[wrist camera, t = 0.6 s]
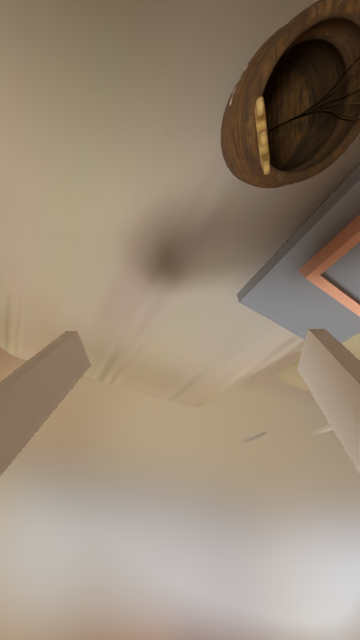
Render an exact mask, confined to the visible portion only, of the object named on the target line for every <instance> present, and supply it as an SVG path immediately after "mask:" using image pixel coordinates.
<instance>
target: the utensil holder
mask: <svg viewBox="0 0 360 640" xmlns="http://www.w3.org/2000/svg"><path fill="white" fill-rule="evenodd" d="M359 132H360V0H319V1H318V2H316V3H314V4H312V5H311V6H309V7H308V8H306V9H305V10H303V11H302V12H301V13H299V14H298V15H297V16H296V17H294V18H293V19H292V20H291V21H290V22H289V23H288V24H286V25H285V26H283V27H282V28H280V29H279V30H278V31H277V32H275V33H274V34H273V35H272V36H271V37H270V38H269V39H268V40H267V41H266V42H265V43H264V44H263V45H262V46H261V47H260V49H259V50H258V51H257V52H256V54H255V55H254V56H253V58H252V59H251V60H250V62H249V64H248V65H247V67H246V68H245V70H244V71H243V73H242V75H241V77H240V79H239V80H238V82H237V84H236V86H235V88H234V90H233V92H232V94H231V96H230V98H229V101H228V103H227V106H226V109H225V113H224V116H223V121H222V128H221V147H222V153H223V157H224V160H225V162H226V164H227V166H228V168H229V170H230V171H231V172H232V173H233V175H234V176H236V177H237V178H238V179H240V180H241V181H243V182H245V183H248V184H250V185H253V186H256V187H261V188H276V187H281V186H284V185H288V184H293V183H297V182H300V181H303V180H306V179H308V178H311V177H313V176H315V175H316V174H318V173H320V172H321V171H323V170H324V169H326V168H327V167H328V166H330V165H331V164H332V163H333V162H334V161H335V160H337V159H338V158H339V157H340V156H341V155H342V154H343V152H344V151H345V150H346V149H347V148H348V147H349V146H350V144H351V143H352V142H353V141H354V139H355V138H356V136H357V135H358V134H359Z"/></svg>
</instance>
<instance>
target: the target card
mask: <svg viewBox="0 0 360 640" xmlns="http://www.w3.org/2000/svg"><path fill="white" fill-rule="evenodd" d="M237 297H238V300H239V302H240V303H242V304H244V305H245V306H247V307H249V308H251V309H252V310H254V311H256V312H258V313H259V314H261V315H263V316H265V317H266V318H268V319H270V320H272V321H273V322H275V323H277V324H279V325H280V326H282V327H284V328H286V329H287V330H289V331H291V332H293V333H294V334H296V335H298V336H300V337H301V338H303V339H306V335H307V331H308V329H326V330H327V331H328V332H329V333H330V334H331V335H332V336H333V337H334V338H335V339H337V340H338V341H339V342H340V343H342V342H344V341H346V340H348V339H349V338H351V337H353V336H355V335H356V334H358V333H360V164H359V165H358V166H357V167H356V169H355V170H354V171H353V172H352V173H351V174H350V175H349V176H348V177H347V178H346V179H345V180H344V181H343V182H342V183H341V184H340V186H339V187H338V188H337V189H336V190H335V191H334V192H333V193H332V194H331V195H330V196H329V197H328V198H327V199H326V200H325V201H324V203H323V204H322V205H321V206H320V207H319V208H318V209H317V210H316V211H315V212H314V213H313V214H312V215H311V216H310V217H309V219H308V220H307V221H306V222H305V223H304V224H303V225H302V226H301V227H300V228H299V229H298V230H297V231H296V232H295V233H294V234H293V236H292V237H291V238H290V239H289V240H288V241H287V242H286V243H285V244H284V245H283V246H282V247H281V248H280V249H279V250H278V251H277V253H276V254H275V255H274V256H273V257H272V258H271V259H270V260H269V261H268V262H267V263H266V264H265V265H264V266H263V267H262V268H261V270H260V271H259V272H258V273H257V274H256V275H255V276H254V277H253V278H252V279H251V280H250V281H249V282H248V283H247V284H246V286H245V287H244V288H243V289H242V290H241V291H240V292H239V293H238V294H237Z"/></svg>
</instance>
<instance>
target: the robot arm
mask: <svg viewBox="0 0 360 640" xmlns="http://www.w3.org/2000/svg"><path fill="white" fill-rule="evenodd" d="M90 366H91V364H90V362H89V359H88V357H87V354H86V352H85V349H84V347H83V344H82V342H81V339H80V337H79V334H78V332H77V331H66V332H65V333H63V334H62V335H61V336H59V337H58V338H57V339H55V340H54V341H53V342H52V343H50V344H49V345H48V346H46V347H45V348H44V349H43V350H41V351H40V352H39V353H37V354H36V355H35V356H34V357H32V358H31V359H30V360H28V361H27V362H26V363H24V364H23V365H22V366H21V367H19V368H18V369H17V370H15V371H14V372H13V373H12V374H10V375H9V376H8V377H6V378H5V379H4V380H2V381H1V382H0V476H1V475H2V474H3V472H4V471H5V470H6V469H7V467H8V466H9V465H10V464H11V463H12V461H13V460H14V459H15V458H16V456H17V455H18V454H19V453H20V452H21V450H22V449H23V448H24V447H25V445H26V444H27V443H28V442H29V440H30V439H31V438H32V437H33V436H34V434H35V433H36V432H37V431H38V429H39V428H40V427H41V426H42V425H43V423H44V422H45V421H46V420H47V418H48V417H49V416H50V415H51V414H52V412H53V411H54V410H55V408H56V407H57V406H58V405H59V404H60V402H61V401H62V400H63V399H64V398H65V396H66V395H67V394H68V393H69V391H70V390H71V389H72V388H73V386H74V385H75V384H76V383H77V382H78V380H79V379H80V378H81V377H82V376H83V374H84V373H85V372H86V371H87V369H88V368H89V367H90ZM297 370H298V372H299V374H300V375H301V377H302V379H303V380H304V382H305V384H306V385H307V387H308V389H309V390H310V392H311V394H312V395H313V397H314V398H315V400H316V402H317V404H318V405H319V407H320V408H321V410H322V412H323V414H324V415H325V417H326V419H327V420H328V422H329V423H330V425H331V427H332V429H333V430H334V432H335V433H336V435H337V437H338V439H339V440H340V442H341V443H342V445H343V447H344V449H345V450H346V452H347V454H348V455H349V457H350V459H351V460H352V462H353V464H354V465H355V467H356V469H357V470H358V472H359V474H360V361H359V360H358V359H357V358H356V357H355V356H354V355H353V354H352V353H351V352H350V351H348V350H347V349H346V348H345V347H344V346H343V345H342V344H341V343H340V342H339V341H338V340H337V339H335V338H334V337H333V336H332V335H331V334H330V333H329V332H328V331H327V330H326V329H308V331H307V335H306V339H305V343H304V346H303V350H302V354H301V358H300V362H299V366H298V369H297Z"/></svg>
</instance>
